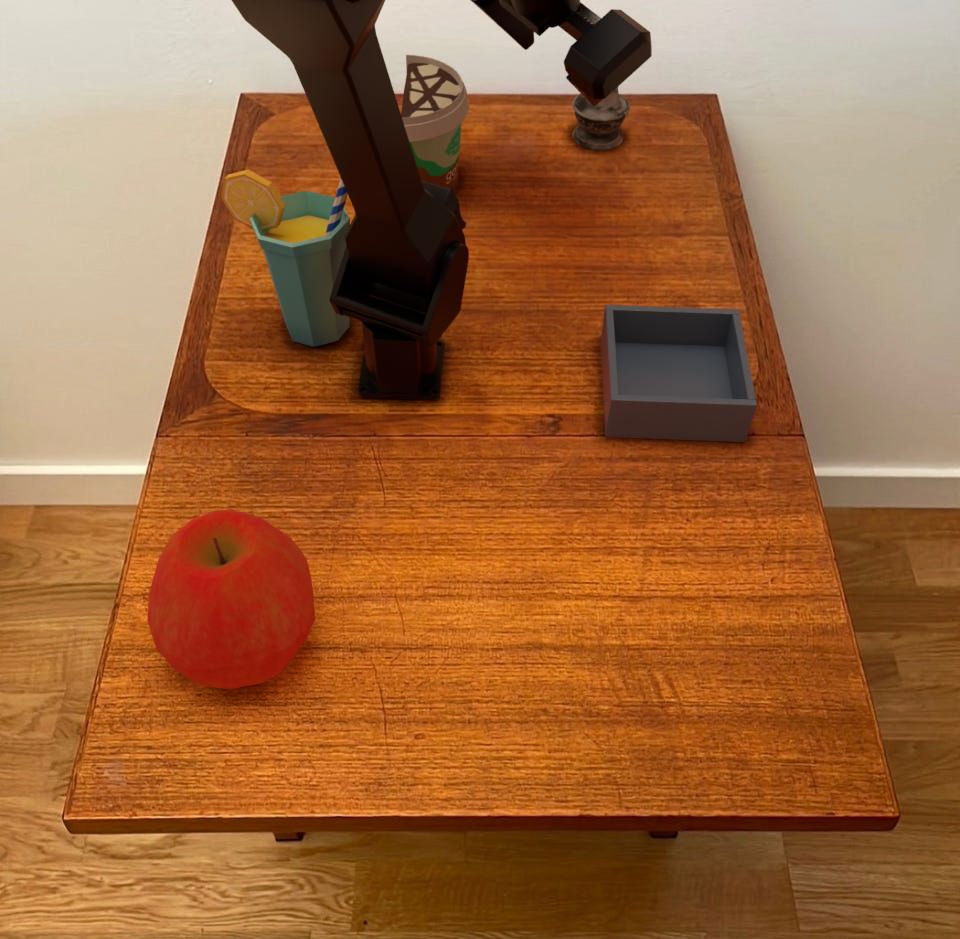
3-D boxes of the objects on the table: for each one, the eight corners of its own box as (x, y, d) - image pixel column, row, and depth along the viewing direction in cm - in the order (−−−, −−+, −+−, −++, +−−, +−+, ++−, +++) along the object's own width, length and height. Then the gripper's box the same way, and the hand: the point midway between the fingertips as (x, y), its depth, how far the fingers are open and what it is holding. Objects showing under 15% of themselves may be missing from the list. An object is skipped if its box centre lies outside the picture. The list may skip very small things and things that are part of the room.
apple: (350, 659, 64) (333, 565, 56) (198, 737, 60) (156, 649, 52) (283, 547, 69) (259, 448, 61) (140, 613, 66) (95, 516, 58)
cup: (414, 298, 86) (401, 137, 75) (408, 356, 81) (393, 192, 70) (254, 298, 87) (218, 139, 76) (237, 356, 81) (196, 193, 70)
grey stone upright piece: (637, 135, 104) (653, 21, 94) (603, 158, 101) (616, 43, 92) (592, 115, 106) (604, 2, 97) (558, 137, 103) (566, 23, 94)
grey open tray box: (745, 442, 76) (757, 405, 73) (605, 437, 76) (611, 399, 73) (728, 347, 83) (739, 309, 80) (600, 342, 83) (605, 304, 80)
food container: (467, 219, 94) (467, 122, 86) (402, 218, 94) (396, 121, 86) (471, 147, 102) (471, 52, 94) (411, 146, 102) (406, 51, 94)
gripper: (701, -72, 71) (703, 70, 86) (530, -190, 78) (559, -40, 92) (587, 31, 71) (608, 156, 86) (425, -96, 77) (471, 40, 92)
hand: (562, 73), depth 89 cm, fingers open, 9 cm apart
